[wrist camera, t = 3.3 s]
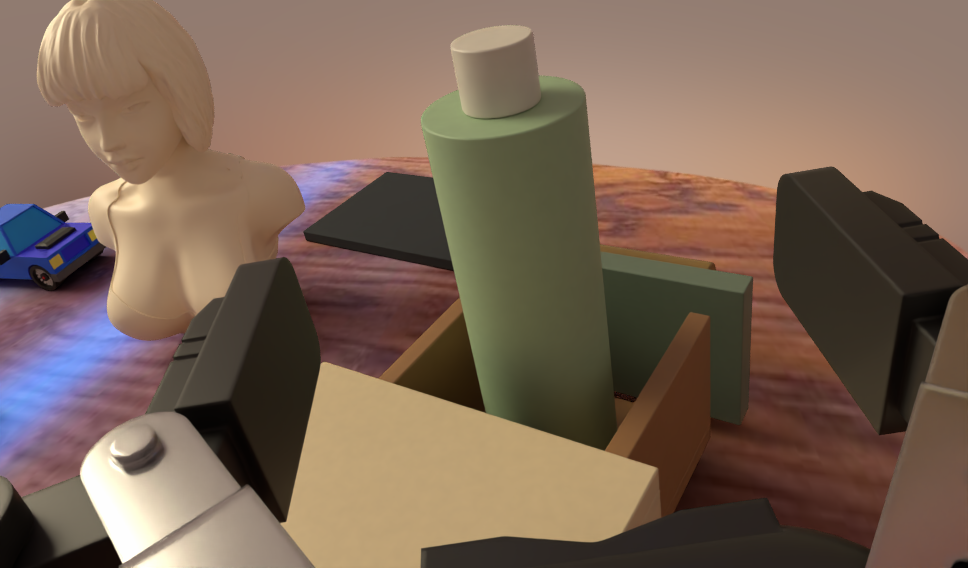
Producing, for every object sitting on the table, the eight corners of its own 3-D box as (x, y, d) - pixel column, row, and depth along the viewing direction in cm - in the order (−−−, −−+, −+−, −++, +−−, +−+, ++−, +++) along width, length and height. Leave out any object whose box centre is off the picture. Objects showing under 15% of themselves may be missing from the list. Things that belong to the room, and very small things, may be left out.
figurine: (93, 376, 45) (-103, 42, 34) (160, 289, 52) (16, -6, 42) (307, 356, 43) (170, -5, 32) (343, 268, 50) (243, -46, 40)
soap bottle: (639, 430, 31) (608, 9, 22) (586, 520, 27) (523, 69, 18) (534, 399, 33) (466, 12, 24) (474, 478, 30) (370, 65, 21)
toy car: (58, 298, 54) (24, 239, 51) (-56, 291, 58) (-94, 236, 55) (121, 249, 59) (92, 193, 56) (12, 247, 63) (-20, 194, 60)
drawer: (558, 302, 41) (542, 192, 38) (775, 349, 35) (782, 222, 31) (333, 572, 29) (276, 447, 25) (608, 716, 23) (589, 578, 19)
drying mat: (561, 203, 53) (559, 193, 53) (487, 277, 46) (485, 267, 46) (388, 180, 61) (386, 171, 61) (305, 240, 55) (302, 231, 54)
